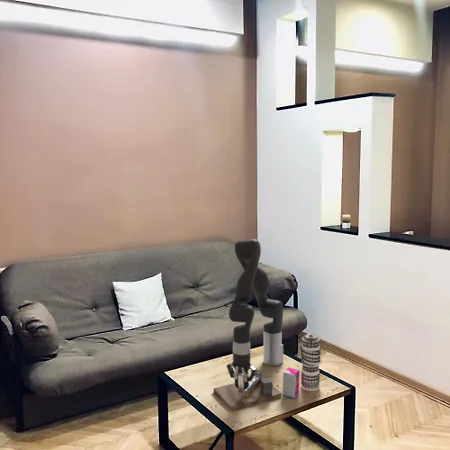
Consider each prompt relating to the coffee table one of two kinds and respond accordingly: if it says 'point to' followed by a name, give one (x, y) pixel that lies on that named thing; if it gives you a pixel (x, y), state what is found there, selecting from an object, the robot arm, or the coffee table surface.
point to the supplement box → (291, 383)
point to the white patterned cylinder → (310, 362)
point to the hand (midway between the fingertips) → (241, 387)
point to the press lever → (256, 379)
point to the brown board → (253, 397)
